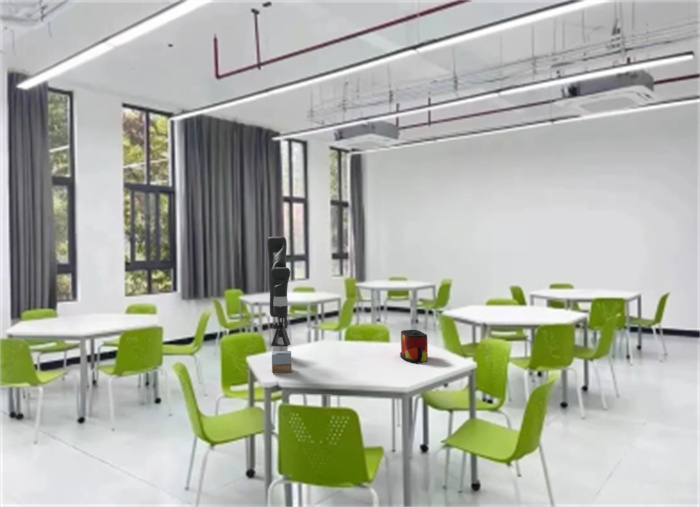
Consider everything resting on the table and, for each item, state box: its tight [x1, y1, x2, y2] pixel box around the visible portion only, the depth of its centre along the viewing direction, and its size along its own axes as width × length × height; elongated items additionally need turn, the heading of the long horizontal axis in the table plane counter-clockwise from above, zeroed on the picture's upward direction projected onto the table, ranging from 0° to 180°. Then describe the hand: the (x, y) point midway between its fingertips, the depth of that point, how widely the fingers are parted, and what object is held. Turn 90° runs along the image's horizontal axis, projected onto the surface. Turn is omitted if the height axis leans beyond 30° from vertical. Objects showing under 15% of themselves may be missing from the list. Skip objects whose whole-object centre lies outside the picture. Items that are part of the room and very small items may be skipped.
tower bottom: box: [271, 363, 293, 374], centre depth 277 cm, size 10×10×5 cm
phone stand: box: [271, 323, 291, 347], centre depth 277 cm, size 9×6×12 cm, turn 80°
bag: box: [399, 329, 429, 365], centre depth 308 cm, size 30×14×16 cm, turn 8°
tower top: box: [271, 350, 292, 366], centre depth 277 cm, size 10×10×5 cm
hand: (280, 336), depth 277 cm, fingers closed on phone stand, 6 cm apart
